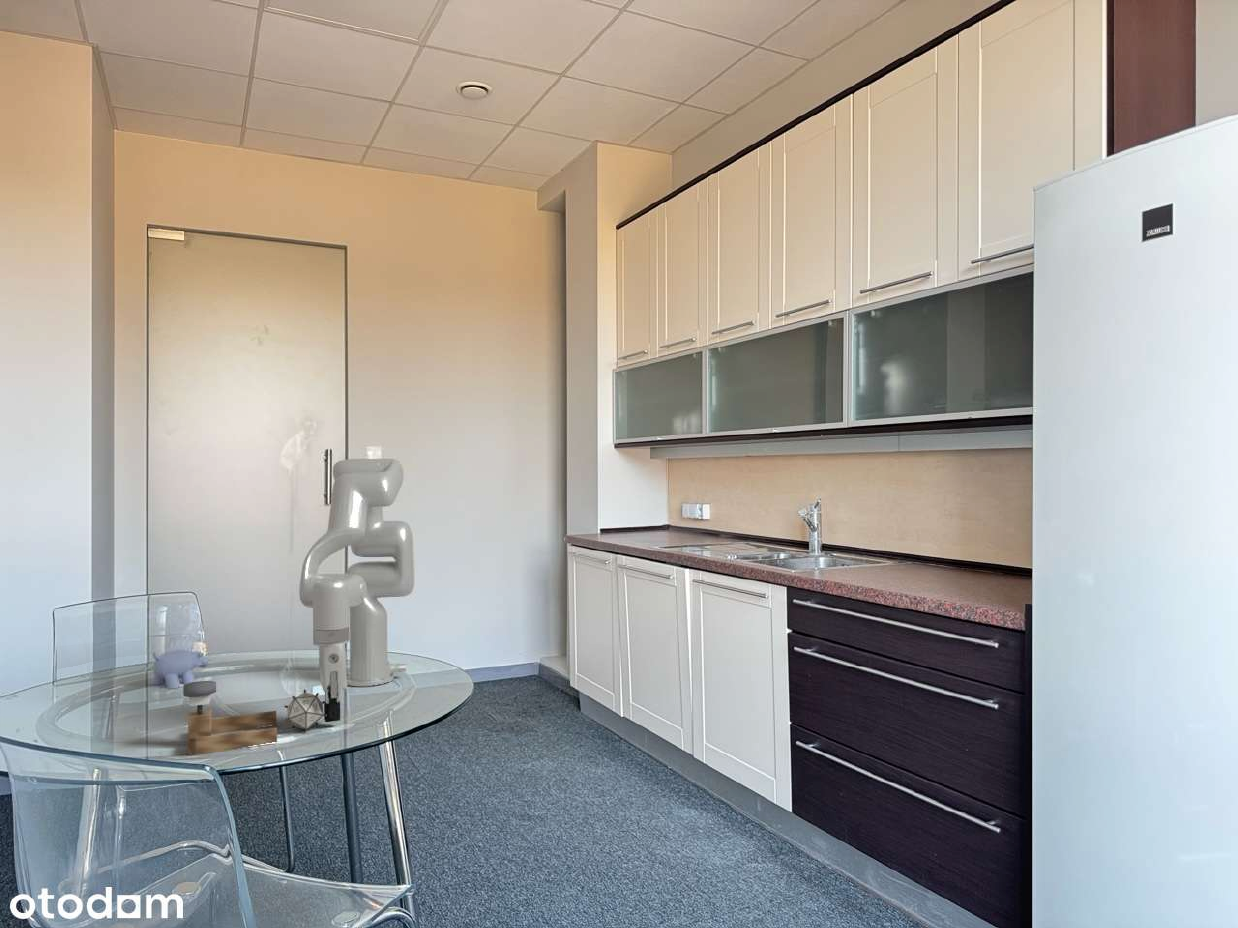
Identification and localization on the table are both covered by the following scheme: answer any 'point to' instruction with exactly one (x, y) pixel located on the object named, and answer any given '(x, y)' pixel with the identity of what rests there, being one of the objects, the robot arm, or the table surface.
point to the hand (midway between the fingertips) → (332, 720)
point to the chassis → (205, 726)
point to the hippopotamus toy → (177, 667)
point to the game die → (305, 710)
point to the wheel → (199, 692)
